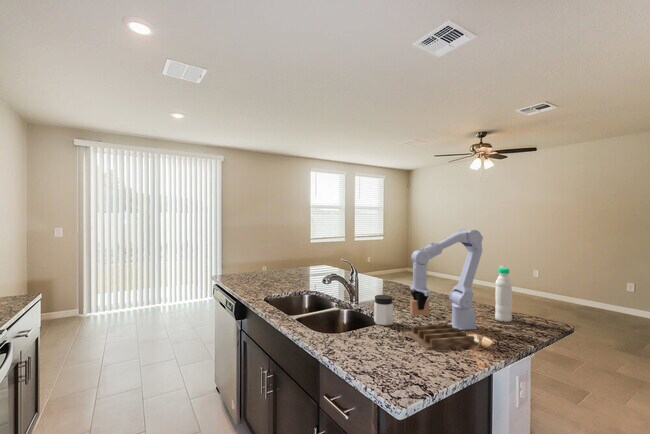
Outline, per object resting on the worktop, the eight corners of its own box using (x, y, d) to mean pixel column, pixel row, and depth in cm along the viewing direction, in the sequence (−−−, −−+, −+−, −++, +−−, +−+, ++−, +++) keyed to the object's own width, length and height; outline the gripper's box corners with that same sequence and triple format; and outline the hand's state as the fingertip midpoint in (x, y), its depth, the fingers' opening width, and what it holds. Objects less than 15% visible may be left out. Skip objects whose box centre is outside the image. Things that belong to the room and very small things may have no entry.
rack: (454, 331, 135) (454, 323, 135) (478, 345, 121) (478, 336, 121) (407, 334, 131) (407, 326, 131) (426, 349, 116) (426, 340, 116)
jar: (382, 326, 140) (382, 300, 140) (370, 321, 147) (370, 296, 147) (396, 323, 145) (396, 297, 145) (384, 318, 152) (384, 293, 152)
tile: (426, 312, 140) (426, 299, 140) (429, 314, 138) (429, 300, 138) (409, 313, 138) (410, 300, 139) (412, 315, 136) (412, 301, 136)
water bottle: (496, 321, 150) (496, 268, 150) (494, 316, 156) (494, 266, 156) (513, 323, 147) (513, 269, 147) (510, 318, 154) (510, 267, 154)
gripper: (404, 275, 145) (403, 304, 145) (419, 281, 130) (419, 314, 130) (418, 274, 146) (417, 303, 146) (435, 280, 132) (434, 313, 132)
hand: (419, 308), depth 138 cm, fingers closed on tile, 2 cm apart
